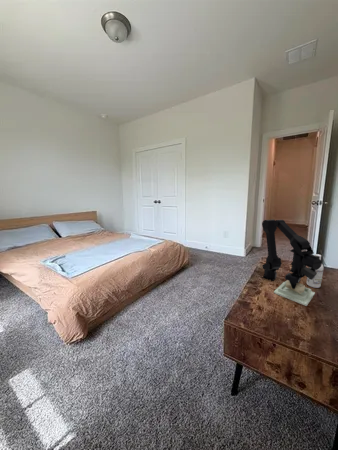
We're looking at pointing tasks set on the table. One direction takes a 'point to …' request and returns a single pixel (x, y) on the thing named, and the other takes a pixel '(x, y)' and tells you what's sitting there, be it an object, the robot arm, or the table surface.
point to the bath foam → (316, 277)
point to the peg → (298, 288)
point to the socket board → (295, 294)
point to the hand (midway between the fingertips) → (294, 287)
